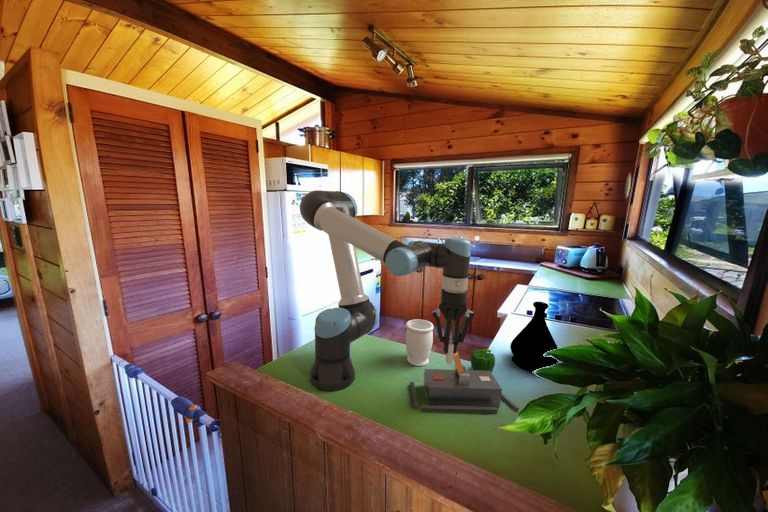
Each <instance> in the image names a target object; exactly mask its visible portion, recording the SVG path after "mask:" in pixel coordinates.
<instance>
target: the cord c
mask: <svg viewBox="0 0 768 512" xmlns="http://www.w3.org/2000/svg"><path fill="white" fill-rule="evenodd" d="M501 400H503V401H504V402H505V403H506V404H507V405H509V407H511V408H512V409H513V410H514V411H515V412H518V410H519V411H520V406H518V405H517V404H516V403H515V402H514V401H512V400H511V399H510V398H509V397H507V396H506V395H505V394H504V393H503V392H502V393H501Z"/></svg>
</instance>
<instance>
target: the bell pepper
mask: <svg viewBox="0 0 768 512" xmlns="http://www.w3.org/2000/svg"><path fill="white" fill-rule="evenodd" d="M491 352H492V350H491V349H489V348H486V349H484V348H483V349H473V350H472V352H471V354H470V365H471V370H481V371H491V373H492V372H493V370H494V368H495V364H496V356H495V354H494V353H491ZM492 374H493V373H492Z"/></svg>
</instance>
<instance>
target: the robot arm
mask: <svg viewBox="0 0 768 512" xmlns="http://www.w3.org/2000/svg"><path fill="white" fill-rule="evenodd" d="M299 212H300V215H301V217H302V219H303V221H305V222H306V223H307V224H308V225H309V226H311V227H313V228H314V229H316V230H318V231H320V232H321V231H323V232H324V233H326V234H327V235H328V240H329V244H330V250H331V255H332V258H333V265H334V269H335V273H336V279H337V283H338V289H339V293H340V299H339V302H338V304H337V305H338V307H333V308H327V309H325V310H322V311H321V312H319V314H317V316H316V318H315V322H314V349H315V350H314V351H315V353H314V355H315V356H314V360H313V364H312V366H311V369H310V371H309V381H310V384H311V385H312V386H313V387H314V388H316V389H318V390H321V391H326V392H333V391H340V390H343V389H346V388H347V387H349V386H351V385H352V384H353V382H354V380H355V379H356V377H355V376H356V370H355V367H354V364H353V362H352V359H351V344H352V343H353V342H356V340H358V339H360V338H362V337H364V336H365V335H367V334H369V333H370V332H371V331H373V330H374V329H375V328H376V327H377V324H378V323H379V311H378V309H377V306H376V305H375V304H374V303H373V302H372V301H370V297H369V296H368V295H366V294H365V291H364V287H363V282H362V276H361V272H360V268H359V263H358V262H359V261H358V256H357V251H356V248H357V249H359V250H361V251H363V252H364V253H365V254H367V255H369V256H371V257H373V258H375V259H377V260H378V261H380V262H382V263H383V264H385V266H386V268H387V270H388V271H389V273H390V274H391V275H393V276H397V277H401V276H406V275H411V274H412V273H415V272H416V271H418V270H422V269H424V268H426V267H429V268H437V269H442V280H441V288H442V289H441V292H440V293H441V296H440V303H439V306H438V308H435V309H432V310H431V311H430V312H431V314H432V315H431V316H432V317H433V318H434V322H435V323H434V324H435V329H436V333H437V338H438V340H439V342H441V343H443V352H444V354H446V355H445V362H446V364H447V365H453V362H454V359H453V353H456V352H458V350H457V349H458V345H459V344H460V343H464V341H465V338H466V335H467V333H468V329H469V327H470V324H471V321H472V320H473V319H474V317H475V313H474V312H473V310H469V309H468V306H467V299H468V298H467V297H468V292H467V291H468V284H469V272H470V264H471V262H470V260H471V256H472V255H471V240H469V239H467V238H463V237H446V238H445V239H444V242H443V243H438V242H432V241H431V242H428V241H422V240H411V241H409V242H408V243H407V244H406V243H404V242H402V241H399V240H398V239H396V238H395V237H393V236H390V235H388V234H386V233H385V232H383V231H381V230H379V229H376V228H375V227H373V226H371V225H368V224H367V223H365V222H362V220H359V219H357V215H358V205H357V202H356V200H355V198H353V196H352V195H350V194H349V193H348V192H343V191H341V190H335V191H334V190H332V191H331V190H320V189H319V190H317V189H316V190H311V191H309V192H308V193H306V194H305V195H304V196H303V197H302V198H301V200H300V204H299ZM441 315H442V316H443V317H444V327H443V329H444V330H442V325H441V320H440V317H441ZM463 316H464V317H463ZM462 317H463V320H462V324H461V327H460V321H461V319H462ZM451 324H452V333H451ZM450 334H452V335H450ZM450 336H451V340H450Z"/></svg>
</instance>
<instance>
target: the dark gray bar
mask: <svg viewBox="0 0 768 512" xmlns="http://www.w3.org/2000/svg"><path fill="white" fill-rule="evenodd" d="M498 411H499V410H498V408H497V407H492V406H449V405H422V412H423V413H457V414H458V413H460V414H461V413H463V414H498Z"/></svg>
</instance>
